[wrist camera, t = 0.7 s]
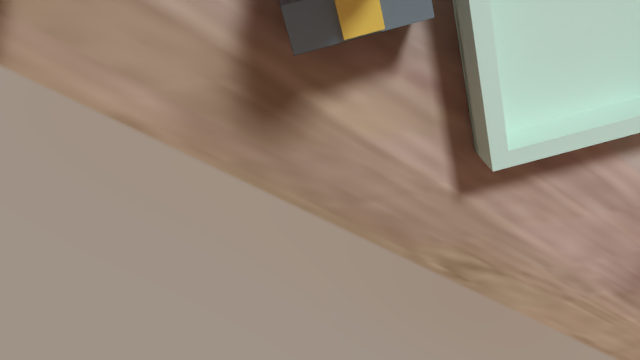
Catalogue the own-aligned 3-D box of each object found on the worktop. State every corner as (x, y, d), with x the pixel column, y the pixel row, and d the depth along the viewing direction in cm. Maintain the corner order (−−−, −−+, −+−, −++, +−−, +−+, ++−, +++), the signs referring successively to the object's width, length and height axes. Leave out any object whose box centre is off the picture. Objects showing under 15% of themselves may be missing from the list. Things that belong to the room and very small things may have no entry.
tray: (443, -62, 30) (460, -59, 28) (676, -126, 30) (717, -130, 27) (475, 151, 36) (492, 171, 33) (675, 98, 35) (709, 114, 33)
